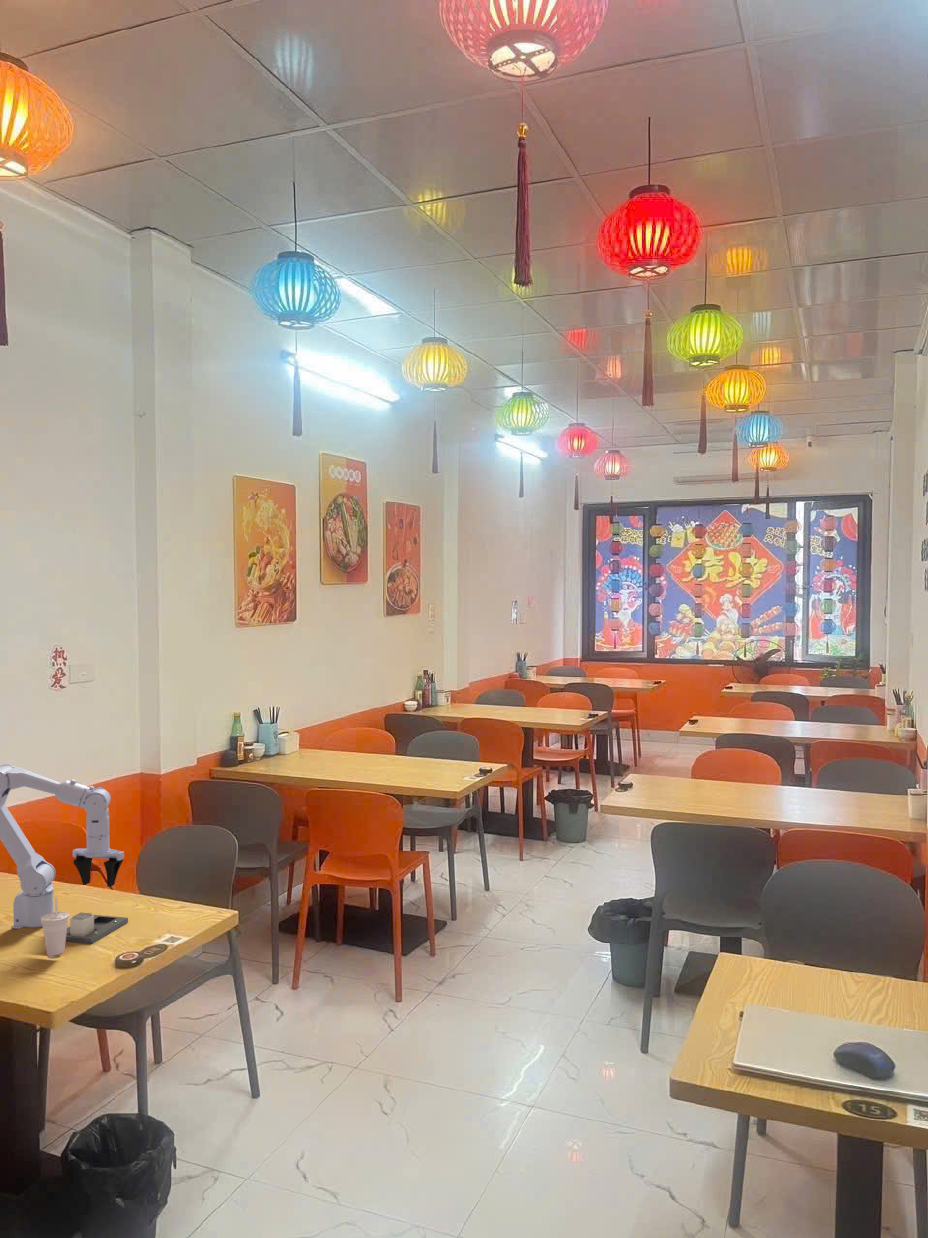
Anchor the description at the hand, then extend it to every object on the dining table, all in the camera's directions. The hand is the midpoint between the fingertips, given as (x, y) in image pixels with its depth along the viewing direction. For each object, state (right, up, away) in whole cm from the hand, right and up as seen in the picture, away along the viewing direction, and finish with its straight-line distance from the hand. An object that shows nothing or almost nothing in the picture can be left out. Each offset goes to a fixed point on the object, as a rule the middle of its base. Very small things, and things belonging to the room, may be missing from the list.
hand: (98, 884), depth 236 cm
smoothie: (-1, -11, -23) cm, 25 cm away
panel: (+2, -10, -9) cm, 14 cm away
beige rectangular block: (+1, -9, -13) cm, 16 cm away
